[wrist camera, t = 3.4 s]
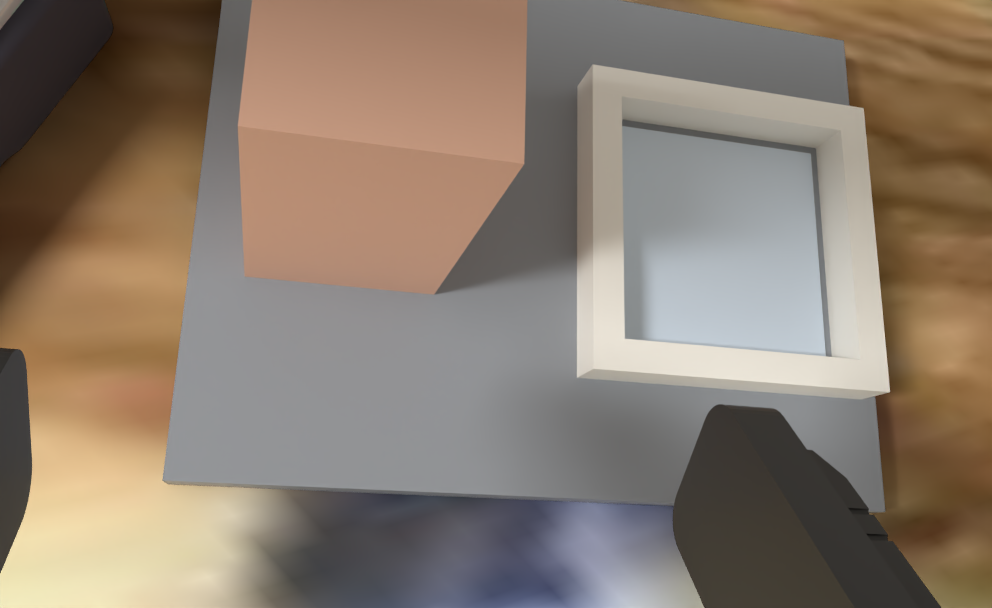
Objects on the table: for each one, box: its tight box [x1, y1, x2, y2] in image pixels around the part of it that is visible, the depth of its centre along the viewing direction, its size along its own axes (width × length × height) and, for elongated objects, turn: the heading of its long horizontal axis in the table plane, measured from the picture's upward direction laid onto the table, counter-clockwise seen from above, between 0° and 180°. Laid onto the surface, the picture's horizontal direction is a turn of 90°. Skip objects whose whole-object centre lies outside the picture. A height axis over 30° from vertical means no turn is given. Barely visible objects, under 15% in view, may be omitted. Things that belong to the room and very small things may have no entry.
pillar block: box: [238, 0, 527, 295], centre depth 18 cm, size 4×4×8 cm
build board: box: [163, 0, 890, 513], centre depth 24 cm, size 18×14×2 cm
